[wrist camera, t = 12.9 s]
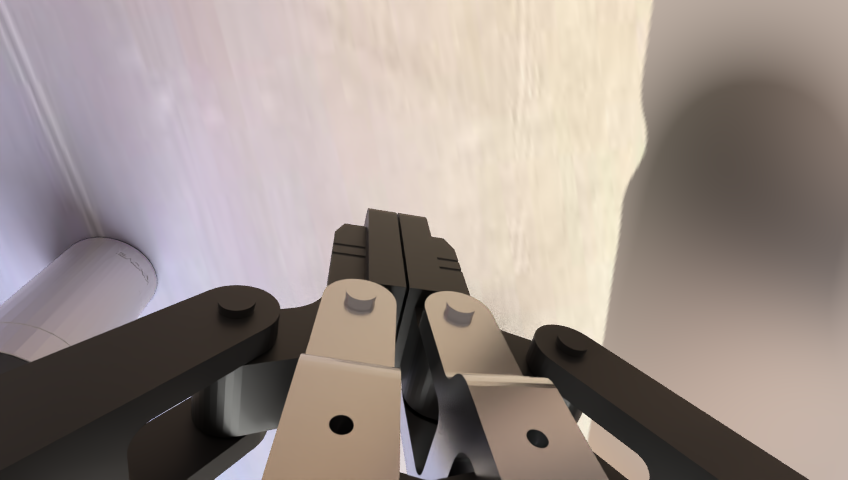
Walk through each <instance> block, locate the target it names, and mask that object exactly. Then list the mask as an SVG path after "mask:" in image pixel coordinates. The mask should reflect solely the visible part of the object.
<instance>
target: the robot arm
mask: <svg viewBox="0 0 848 480" xmlns="http://www.w3.org/2000/svg"><path fill="white" fill-rule="evenodd" d="M156 288H157V277H156V273H155V270H154V269H153V267H152V265H151V263H150V262H149V261H148V259H147V258H146V257H145V256H144V255H143V254H142V253H140V252H139V251H138V250H137V249H135V248H133V247H132V246H130V245H128V244H126V243H123V242H121V241H118V240H114V239H110V238H99V237H98V238H88V239H85V240H82V241H79V242H77V243H76V244H74V245H72V246H71V247H70V248H69V249H67V250H66V251H65V252H64V253H63V254H61V255H60V256H59V257H58V258H57V259H55V260H54V261H53V262H52V263H51V264H49V265H48V266H47V267H46V268H44V269H43V270H42V271H41V272H40V273H39V274H37V275H36V276H35V277H34V278H33V279H31V280H30V281H29V282H28V283H27V284H25V285H24V286H23V287H22V288H21V289H19V290H18V291H17V292H16V293H15V294H13V295H12V296H11V297H10V298H9V299H7V300H6V301H5V302H4V303H3V304H2V305H0V480H214V479H215V478H216V477H218V476H219V475H220V474H222V473H223V472H224V471H225V470H227V469H228V468H229V467H231V466H232V465H233V464H234V463H236V462H237V461H238V460H240V459H241V458H242V457H243V456H245V455H246V454H247V453H248V452H250V451H251V450H252V449H254V448H255V447H256V446H257V445H258V444H259V443H260V442H261V441H262V440H263V438H264V436H265V435H266V432H267V430H272V429H277V431H276V434H275V438H274V441H273V444H272V447H271V451H270V454H269V457H268V460H267V464H266V467H265V470H264V473H263V477H262V480H628V479H627V478H625V477H624V476H623V475H622V474H620V473H619V472H618V471H617V470H615V469H614V468H613V467H611V466H610V465H609V464H608V463H607V462H605V461H604V460H603V459H602V458H600V457H599V456H598V455H596V454H595V453H594V452H593V451H592V449H591V448H590V446H589V444H588V442H587V441H586V439H585V437H584V435H583V434H582V432H581V430H580V428H579V427H578V425H577V422H578V420H579V418H580V416H581V414H582V412H583V413H584V414H585V415H587V416H588V417H589V418H591V419H592V420H593V421H595V422H596V423H597V424H599V425H600V426H602V427H603V428H604V429H605V430H607V431H608V432H609V433H611V434H612V435H613V436H615V437H616V438H617V439H619V440H620V441H621V442H623V443H624V444H625V445H626V446H628V447H629V448H630V449H632V450H633V451H634V452H636V453H637V454H638V455H639V456H640V457H641V458H642V459H643V460H644V462H645V463H646V465H647V467H648V470H649V474H650V479H649V480H809V479H807V478H806V477H804V476H802V475H801V474H799V473H798V472H796V471H795V470H793V469H792V468H790V467H789V466H787V465H785V464H784V463H782V462H781V461H779V460H778V459H776V458H775V457H773V456H772V455H770V454H768V453H767V452H765V451H764V450H762V449H761V448H759V447H758V446H756V445H754V444H753V443H751V442H750V441H748V440H747V439H745V438H743V437H742V436H741V435H739V434H737V433H736V432H734V431H733V430H731V429H730V428H728V427H727V426H725V425H724V424H722V423H720V422H719V421H717V420H716V419H714V418H713V417H711V416H710V415H708V414H706V413H705V412H703V411H702V410H700V409H699V408H697V407H696V406H694V405H692V404H691V403H689V402H688V401H686V400H685V399H683V398H682V397H680V396H678V395H677V394H675V393H674V392H672V391H671V390H669V389H668V388H666V387H665V386H663V385H662V384H660V383H658V382H657V381H655V380H654V379H652V378H651V377H649V376H648V375H646V374H644V373H643V372H641V371H640V370H638V369H637V368H635V367H634V366H632V365H631V364H629V363H627V362H626V361H624V360H623V359H621V358H620V357H618V356H617V355H615V354H614V353H612V352H610V351H609V350H607V349H606V348H604V347H603V346H601V345H600V344H598V343H597V342H595V341H593V340H592V339H590V338H589V337H587V336H586V335H584V334H582V333H580V332H578V331H576V330H574V329H571V328H568V327H565V326H560V325H544V326H542V327H540V328H538V329H537V330H536V332H535V334H534V337H533V339H532V341H531V340H528V339H525V338H522V337H519V336H516V335H513V334H510V333H507V332H504V331H502V330H500V329H499V327H498V325H497V323H496V321H495V319H494V317H493V315H492V313H491V311H490V310H489V309H488V308H487V307H486V306H485V305H484V304H483V303H482V302H480V301H479V300H477V299H475V298H473V297H471V296H470V294H469V291H468V288H467V285H466V282H465V279H464V276H463V273H462V272H461V268H460V265H459V263H458V259H457V256H456V253H455V250H454V249H453V248H452V247H451V246H450V245H449V244H448V243H447V242H446V241H445V240H444V239H443V238H436V237H431V233H430V230H429V226H428V222H427V219H426V217H420V216H414V215H407V214H401V213H398V214H397V213H395V212H388V211H382V210H376V209H370V208H368V210H367V214H366V219H365V225H364V226H357V225H351V224H344V225H343V226H341V227H340V228H339V229H338V230H337V231H335V236H334V242H333V249H332V255H331V262H330V268H329V275H328V281H327V287H326V289H325V290H324V292H323V295H322V297H321V298H320V299H319V300H317V301H316V302H314V303H312V304H309V305H306V306H302V307H297V308H288V309H280V305H279V303H278V301H277V300H276V299H275V298H274V297H273V296H272V295H271V294H269V293H268V292H266V291H264V290H261V289H259V288H255V287H250V286H241V285H231V286H223V287H218V288H215V289H212V290H209V291H206V292H204V293H201V294H199V295H196V296H194V297H191V298H189V299H186V300H184V301H181V302H179V303H176V304H174V305H171V306H169V307H166V308H164V309H161V310H159V311H156V312H154V313H151V314H149V315H147V316H144V317H142V318H139V319H137V318H138V317H139V316H140V314H141V313H142V311H143V310H144V309H145V307H146V306H147V304H148V303H149V301H150V300H151V299H152V297H153V296H154V294H155V291H156ZM401 381H402V390H401ZM190 396H192V397H190ZM189 397H190V398H189ZM187 398H189V399H187ZM185 399H187V400H185ZM184 400H185V401H184ZM182 401H183V402H182ZM180 402H182V403H180ZM178 403H180V404H178ZM177 404H178V405H177ZM175 405H177V406H175ZM173 406H175V407H173ZM172 407H173V408H172ZM170 408H172V409H170ZM168 409H170V410H168ZM167 410H168V411H167ZM165 411H167V412H165ZM163 412H165V413H163ZM161 413H163V414H161ZM160 414H161V415H160ZM158 415H160V416H158ZM156 416H158V417H156ZM155 417H156V418H155ZM153 418H155V419H153ZM152 419H153V420H152ZM150 420H151V421H150ZM149 421H150V422H149ZM147 422H148V423H147ZM400 432H401V438H402V444H403V450H404V456H405V462H406V468H407V474H404V473H400Z"/></svg>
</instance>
